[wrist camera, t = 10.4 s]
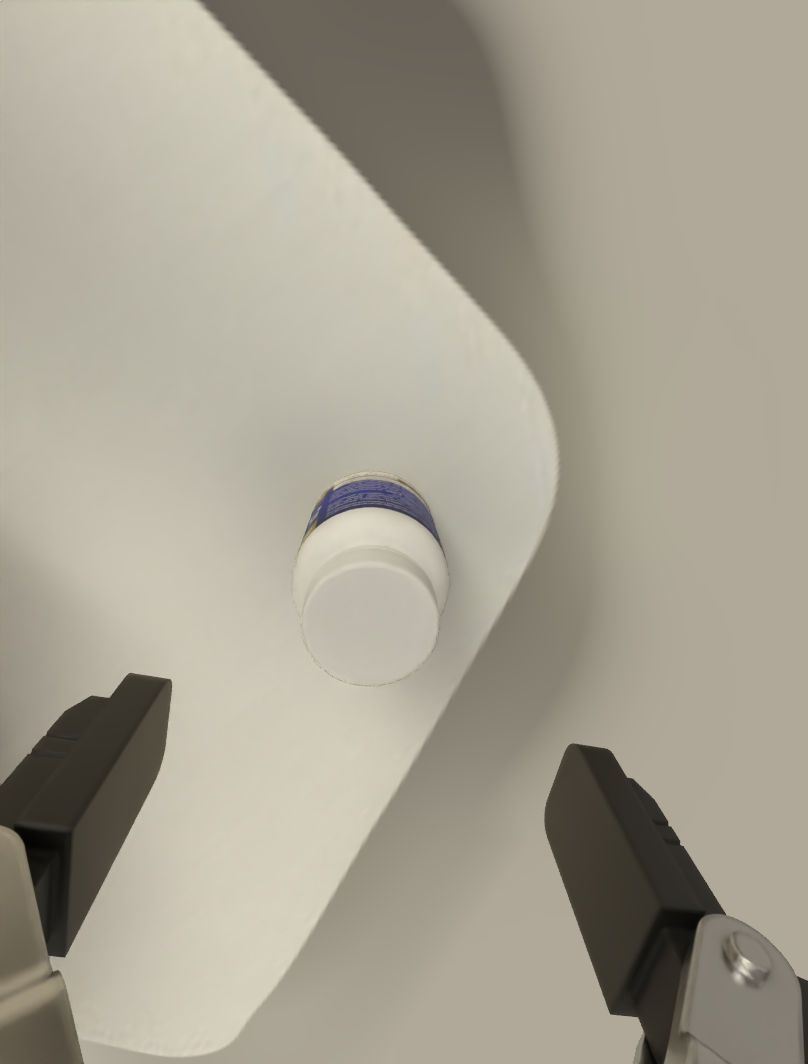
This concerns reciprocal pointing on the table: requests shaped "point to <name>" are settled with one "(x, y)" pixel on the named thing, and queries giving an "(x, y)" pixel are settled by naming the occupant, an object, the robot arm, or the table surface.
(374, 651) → the pill bottle
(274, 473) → the table surface
